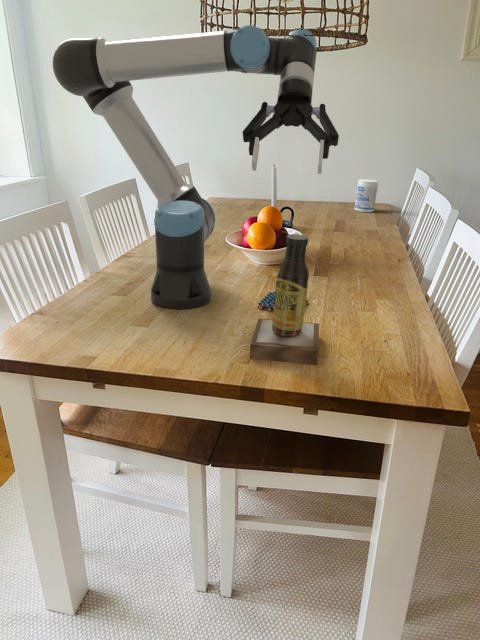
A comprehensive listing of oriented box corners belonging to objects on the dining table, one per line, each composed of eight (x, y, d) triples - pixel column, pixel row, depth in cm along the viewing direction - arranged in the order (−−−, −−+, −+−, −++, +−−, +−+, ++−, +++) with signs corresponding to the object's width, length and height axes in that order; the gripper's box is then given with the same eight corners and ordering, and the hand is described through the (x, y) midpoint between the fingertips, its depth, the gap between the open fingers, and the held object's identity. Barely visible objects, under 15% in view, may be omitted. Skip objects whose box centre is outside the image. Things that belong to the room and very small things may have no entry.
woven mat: (298, 318, 116) (299, 310, 115) (256, 311, 119) (256, 303, 118) (309, 304, 125) (310, 296, 124) (270, 297, 128) (270, 290, 127)
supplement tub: (352, 211, 239) (356, 180, 233) (355, 208, 247) (359, 178, 241) (373, 213, 236) (377, 182, 230) (375, 210, 244) (379, 179, 238)
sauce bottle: (265, 332, 99) (271, 235, 91) (282, 323, 103) (289, 230, 96) (292, 342, 95) (301, 241, 87) (309, 331, 100) (318, 236, 92)
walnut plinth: (249, 358, 95) (250, 343, 94) (257, 330, 107) (258, 317, 106) (316, 364, 94) (318, 349, 93) (317, 336, 106) (318, 322, 104)
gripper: (350, 105, 110) (345, 182, 103) (241, 102, 114) (229, 176, 106) (354, 77, 103) (350, 158, 96) (238, 75, 107) (225, 152, 99)
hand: (286, 168), depth 101 cm, fingers open, 13 cm apart
